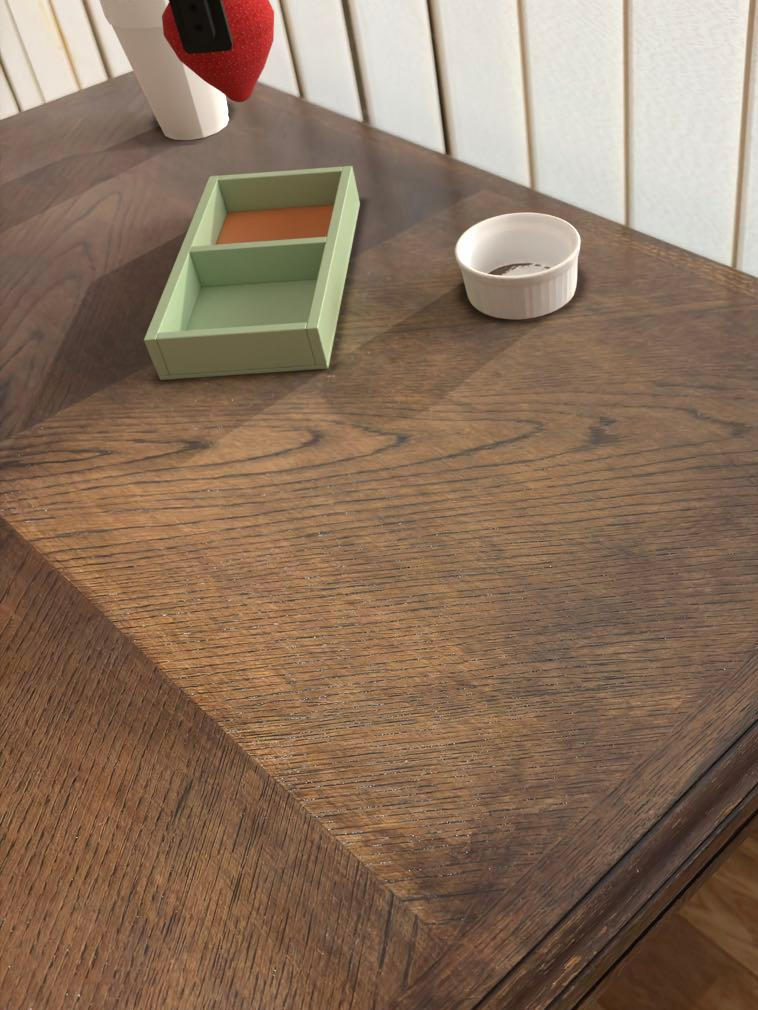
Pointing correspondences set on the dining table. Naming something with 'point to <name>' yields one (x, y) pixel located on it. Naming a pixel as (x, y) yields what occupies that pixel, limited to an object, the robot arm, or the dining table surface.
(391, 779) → the dining table surface
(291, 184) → the tray
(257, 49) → the strawberry
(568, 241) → the ramekin
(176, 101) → the foam cup
